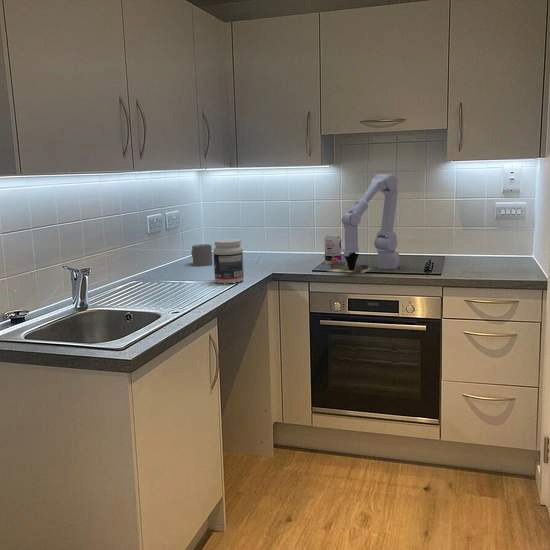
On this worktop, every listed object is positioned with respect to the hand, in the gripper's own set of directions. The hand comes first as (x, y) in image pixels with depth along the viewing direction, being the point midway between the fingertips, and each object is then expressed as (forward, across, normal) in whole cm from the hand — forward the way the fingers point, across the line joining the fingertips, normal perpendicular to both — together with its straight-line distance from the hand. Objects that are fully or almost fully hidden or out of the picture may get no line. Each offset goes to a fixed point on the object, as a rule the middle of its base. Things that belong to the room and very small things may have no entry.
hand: (351, 269), depth 278 cm
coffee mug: (+3, -8, -86) cm, 86 cm away
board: (+3, -7, -4) cm, 9 cm away
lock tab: (-1, -9, -12) cm, 15 cm away
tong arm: (+1, -7, -3) cm, 8 cm away
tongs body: (+1, -9, -5) cm, 11 cm away
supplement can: (+3, -22, -18) cm, 29 cm away
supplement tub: (+3, +29, -47) cm, 55 cm away
